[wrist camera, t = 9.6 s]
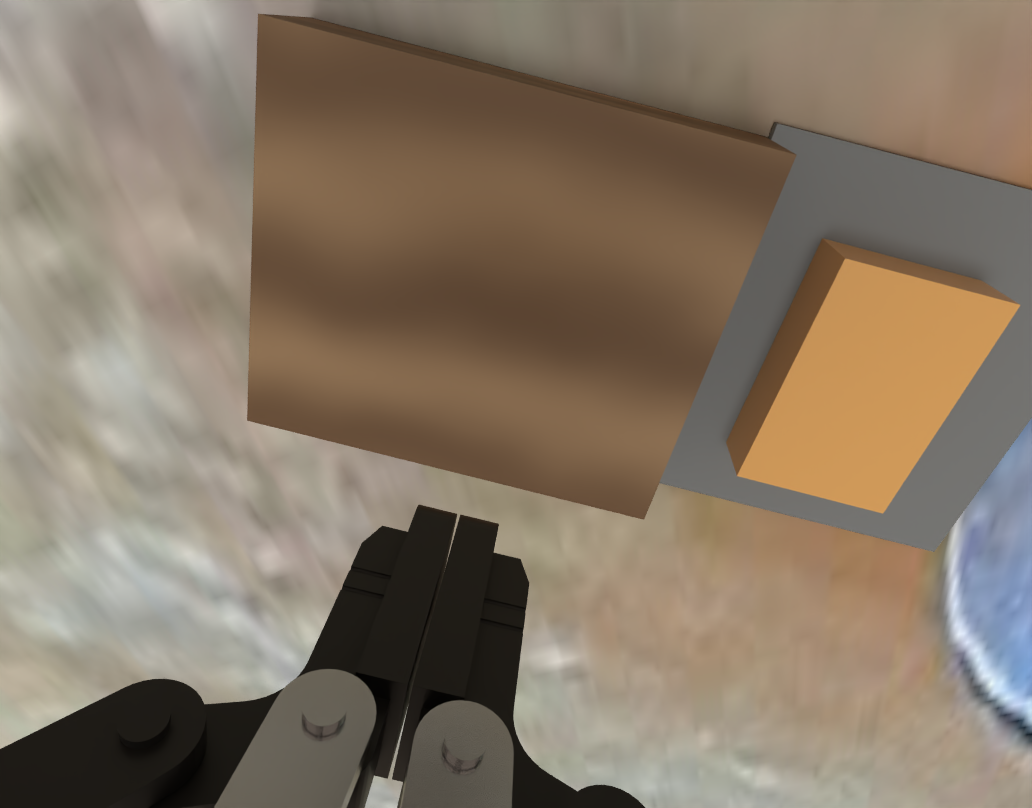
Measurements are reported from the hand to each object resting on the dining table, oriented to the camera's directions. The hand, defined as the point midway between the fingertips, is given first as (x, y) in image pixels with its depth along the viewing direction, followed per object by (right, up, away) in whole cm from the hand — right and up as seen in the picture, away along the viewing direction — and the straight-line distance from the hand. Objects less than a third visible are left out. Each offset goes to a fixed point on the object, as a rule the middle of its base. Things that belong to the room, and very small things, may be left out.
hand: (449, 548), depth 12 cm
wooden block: (0, +8, +14) cm, 16 cm away
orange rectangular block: (+14, +4, +13) cm, 19 cm away
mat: (+15, +4, +14) cm, 21 cm away
